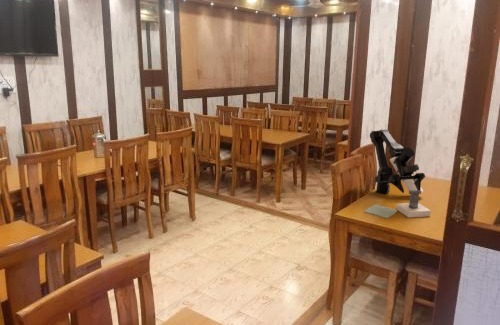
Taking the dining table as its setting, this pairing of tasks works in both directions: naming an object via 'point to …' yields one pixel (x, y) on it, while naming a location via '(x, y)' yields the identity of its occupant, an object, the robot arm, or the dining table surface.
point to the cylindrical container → (407, 183)
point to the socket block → (413, 210)
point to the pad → (381, 211)
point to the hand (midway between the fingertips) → (411, 192)
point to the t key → (414, 198)
